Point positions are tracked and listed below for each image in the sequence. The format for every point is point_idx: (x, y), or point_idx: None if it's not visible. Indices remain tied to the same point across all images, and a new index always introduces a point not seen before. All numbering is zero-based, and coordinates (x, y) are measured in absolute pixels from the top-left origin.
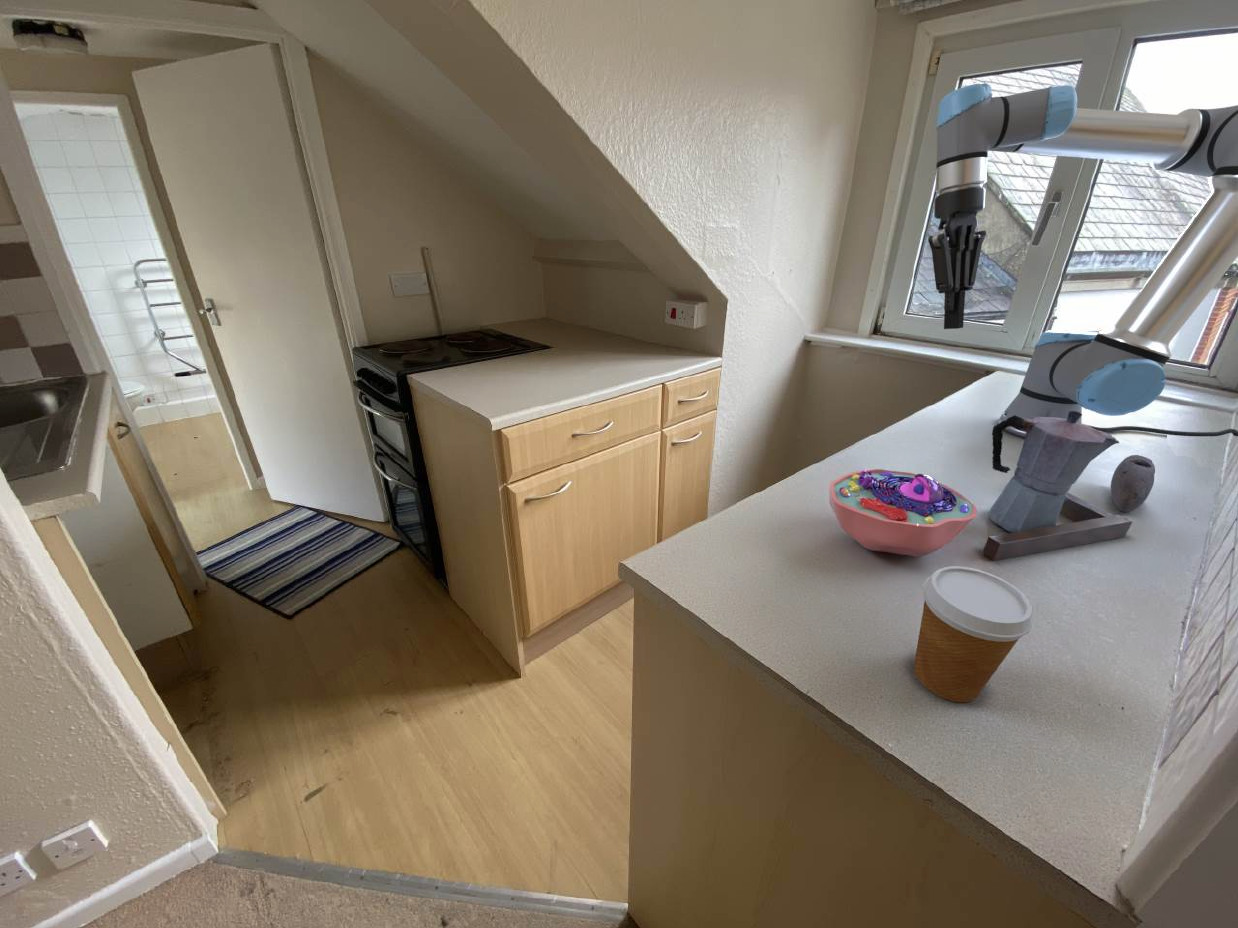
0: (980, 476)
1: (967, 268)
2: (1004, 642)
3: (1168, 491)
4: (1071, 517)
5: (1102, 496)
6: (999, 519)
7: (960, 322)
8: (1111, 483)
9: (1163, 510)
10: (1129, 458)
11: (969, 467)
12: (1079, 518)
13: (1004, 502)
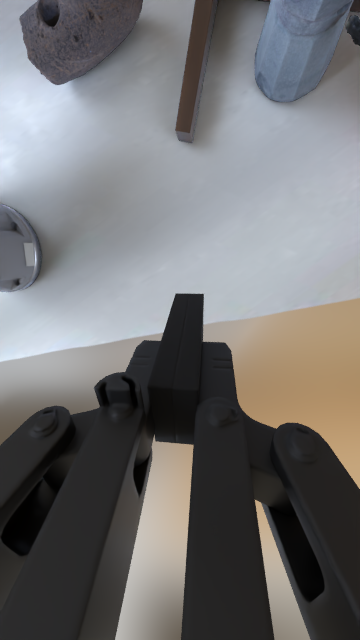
0: (195, 188)
1: (43, 594)
2: None
3: (13, 46)
4: (210, 40)
5: (107, 74)
6: (330, 59)
7: (189, 302)
8: (95, 55)
9: None
10: (43, 41)
11: (183, 213)
12: (212, 25)
13: (332, 48)
